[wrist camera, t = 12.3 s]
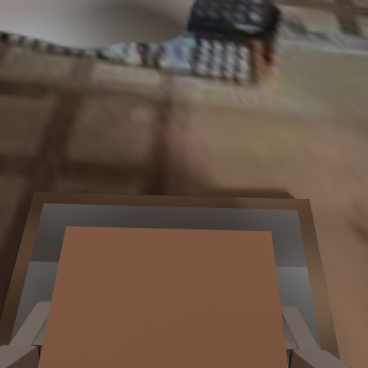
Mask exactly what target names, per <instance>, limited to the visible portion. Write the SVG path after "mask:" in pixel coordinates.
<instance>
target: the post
mask: <svg viewBox="0 0 368 368" xmlns="http://www.w3.org/2000/svg"><path fill="white" fill-rule="evenodd" d="M38 368H288V363H287V355H286V347H285V339H284V330H283V322H282V314H281V306H280V298H279V290H278V282H277V274H276V266H275V258H274V250H273V242H272V233H271V231H238V230H198V229H157V228H117V227H77V226H66V229H65V234H64V239H63V244H62V250H61V255H60V260H59V265H58V270H57V275H56V280H55V285H54V290H53V295H52V300H51V305H50V310H49V315H48V320H47V325H46V330H45V335H44V340H43V345H42V350H41V355H40V360H39V365H38Z"/></svg>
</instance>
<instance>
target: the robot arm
mask: <svg viewBox="0 0 368 368" xmlns="http://www.w3.org/2000/svg"><path fill="white" fill-rule="evenodd" d="M50 305H51V301H40V302H38V303H37V304H36V305H35V307H34V308H33V310H32V311H31V313H30V314H29V316H28V317H27V319H26V320H25V322H24V323H23V325H22V326H21V328H20V329H19V331H18V332H17V334H16V335H15V337H14V338H13V340H12V341H11V343H10V344H9V345H2V346H1V347H0V368H38V365H39V360H40V355H41V350H42V345H43V340H44V335H45V330H46V325H47V320H48V315H49V310H50ZM281 314H282V322H283V330H284V339H285V347H286V355H287V363H288V368H350V367H349V366H348V365H346V364H345V363H343V362H342V361H341V360H339V359H338V358H336V357H335V356H333V355H332V354H331V353H329V352H328V351H326V350H320V348H319V346H318V345H317V343H316V341H315V339H314V337H313V336H312V334H311V332H310V330H309V328H308V326H307V325H306V323H305V321H304V319H303V317H302V316H301V314H300V312H299V310H298V308H297V307H295V306H281Z"/></svg>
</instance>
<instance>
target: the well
mask: <svg viewBox="0 0 368 368" xmlns="http://www.w3.org/2000/svg"><path fill="white" fill-rule="evenodd" d="M66 226H77V227H117V228H157V229H198V230H238V231H271V233H272V242H273V250H274V258H275V266H276V274H277V282H278V290H279V298H280V306H295V307H297V308H298V310H299V312H300V314H301V316H302V317H303V319H304V321H305V323H306V325H307V326H308V328H309V330H310V332H311V334H312V336H313V337H314V339H315V341H316V343H317V345H318V346H319V348H320V350H326V351H328V352H329V353H331V354H332V355H333V356H335V357H336V358H338V359H339V360H340V357H339V352H338V346H337V341H336V336H335V331H334V326H333V320H332V315H331V310H330V305H329V300H328V294H327V289H326V284H325V279H324V274H323V268H322V263H321V258H320V253H319V247H318V242H317V237H316V232H315V227H314V221H313V216H312V211H311V206H310V201H309V199H280V198H242V197H205V196H168V195H131V194H94V193H57V192H34V194H33V198H32V202H31V206H30V210H29V213H28V217H27V221H26V225H25V228H24V232H23V236H22V240H21V244H20V247H19V251H18V255H17V259H16V263H15V266H14V270H13V274H12V278H11V281H10V285H9V289H8V293H7V297H6V300H5V304H4V308H3V312H2V315H1V319H0V347H1V346H2V345H9V344H10V343H11V341H12V340H13V338H14V337H15V335H16V334H17V332H18V331H19V329H20V328H21V326H22V325H23V323H24V322H25V320H26V319H27V317H28V316H29V314H30V313H31V311H32V310H33V308H34V307H35V305H36V304H37V303H38V302H40V301H51V300H52V295H53V290H54V285H55V280H56V275H57V270H58V265H59V260H60V255H61V250H62V244H63V239H64V234H65V229H66Z"/></svg>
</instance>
